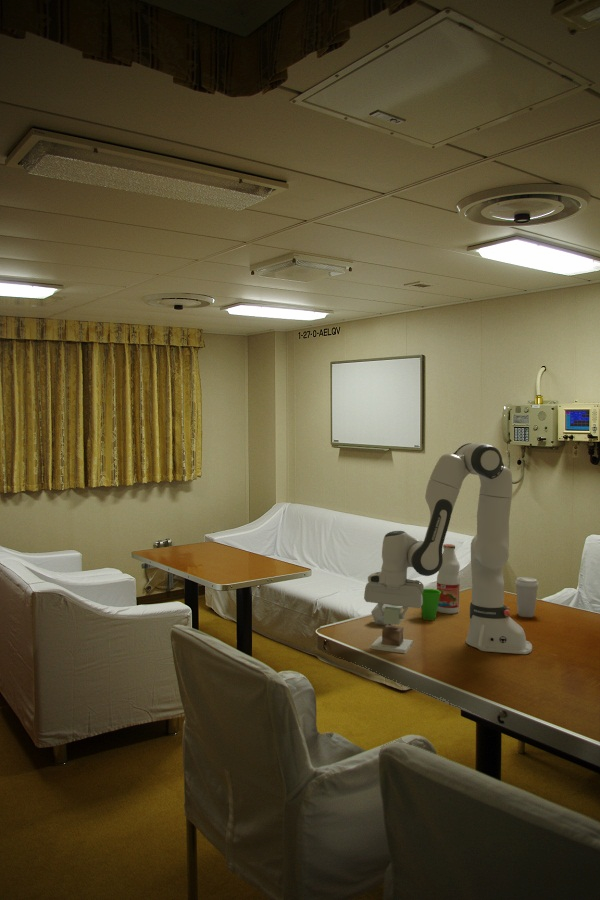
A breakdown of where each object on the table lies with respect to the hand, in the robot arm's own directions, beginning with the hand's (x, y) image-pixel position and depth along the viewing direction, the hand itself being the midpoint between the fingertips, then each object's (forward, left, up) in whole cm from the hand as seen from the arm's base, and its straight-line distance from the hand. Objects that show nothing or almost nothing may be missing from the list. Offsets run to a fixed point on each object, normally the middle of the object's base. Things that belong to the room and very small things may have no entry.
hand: (392, 617), depth 234 cm
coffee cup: (-41, -65, -10) cm, 78 cm away
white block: (+10, -26, -10) cm, 30 cm away
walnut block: (0, 0, -9) cm, 9 cm away
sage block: (0, 0, -2) cm, 2 cm away
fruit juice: (-10, -57, -10) cm, 59 cm away
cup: (-5, -42, -10) cm, 44 cm away
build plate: (0, 0, -10) cm, 10 cm away
